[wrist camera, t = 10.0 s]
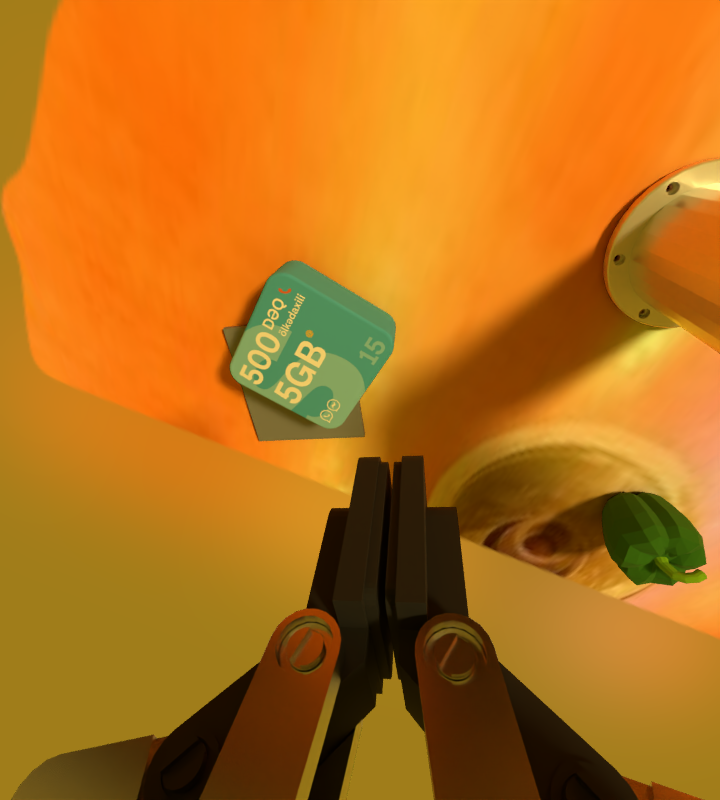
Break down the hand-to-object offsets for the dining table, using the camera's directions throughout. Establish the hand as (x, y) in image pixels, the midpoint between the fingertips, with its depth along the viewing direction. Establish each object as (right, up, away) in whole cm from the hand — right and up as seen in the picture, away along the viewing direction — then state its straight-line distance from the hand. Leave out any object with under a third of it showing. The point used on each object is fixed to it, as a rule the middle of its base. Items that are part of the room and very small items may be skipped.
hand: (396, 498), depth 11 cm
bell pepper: (+30, -10, +37) cm, 48 cm away
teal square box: (0, +4, +28) cm, 29 cm away
